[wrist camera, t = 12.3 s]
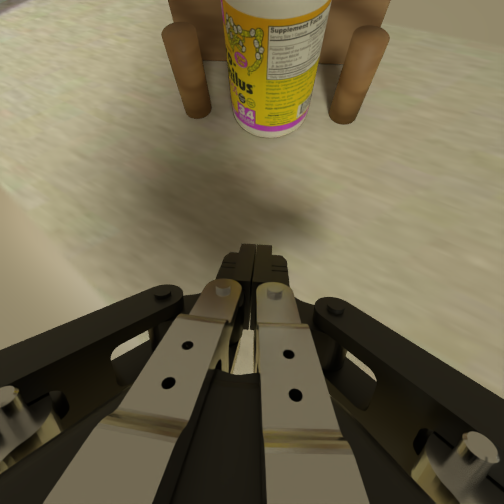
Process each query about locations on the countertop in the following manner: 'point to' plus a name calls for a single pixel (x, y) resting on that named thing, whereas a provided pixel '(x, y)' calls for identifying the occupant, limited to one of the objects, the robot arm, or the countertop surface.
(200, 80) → the dowel gate
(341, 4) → the walnut rail
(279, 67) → the supplement bottle
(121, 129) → the countertop surface
